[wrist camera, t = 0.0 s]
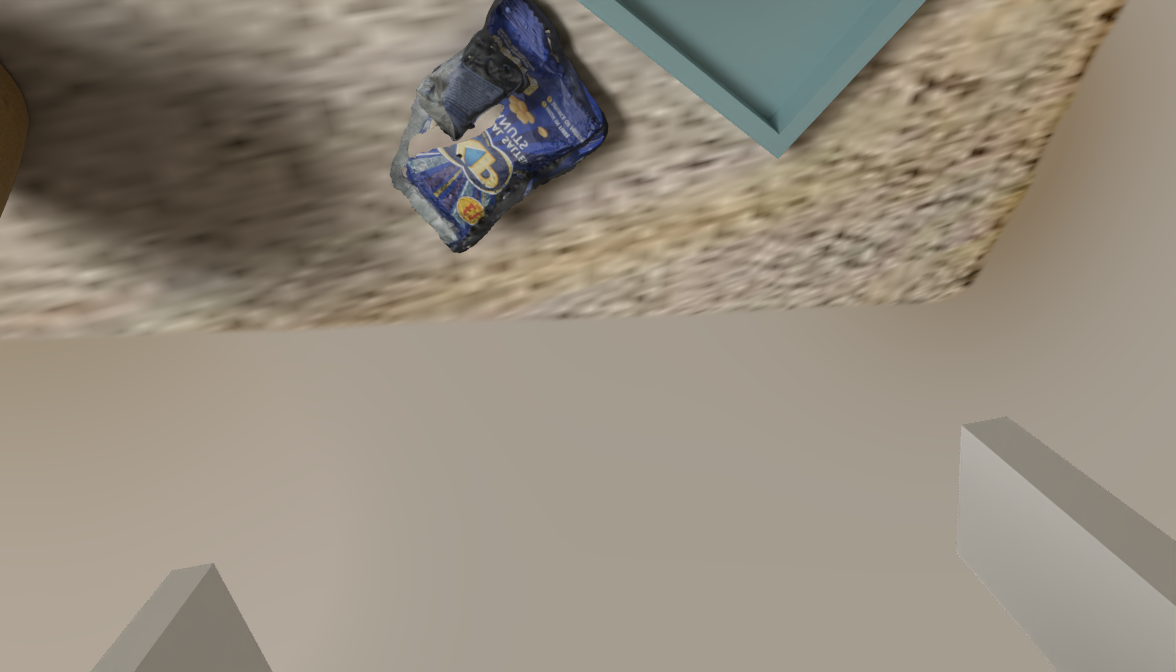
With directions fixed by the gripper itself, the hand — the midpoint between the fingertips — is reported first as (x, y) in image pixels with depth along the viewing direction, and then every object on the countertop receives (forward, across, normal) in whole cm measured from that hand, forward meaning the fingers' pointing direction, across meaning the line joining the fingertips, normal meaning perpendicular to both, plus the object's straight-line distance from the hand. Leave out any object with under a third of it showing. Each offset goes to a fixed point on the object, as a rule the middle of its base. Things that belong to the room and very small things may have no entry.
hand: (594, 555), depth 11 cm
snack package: (+28, -3, +7) cm, 29 cm away
